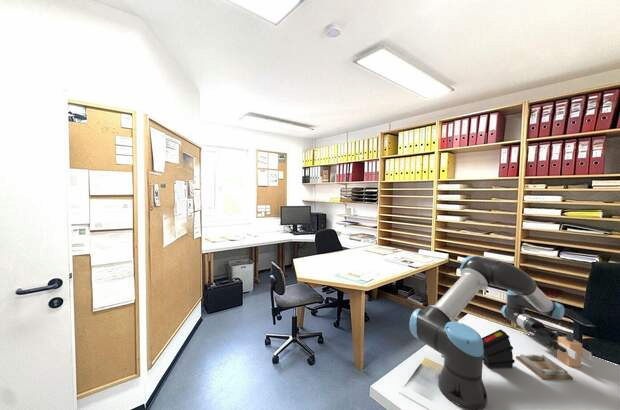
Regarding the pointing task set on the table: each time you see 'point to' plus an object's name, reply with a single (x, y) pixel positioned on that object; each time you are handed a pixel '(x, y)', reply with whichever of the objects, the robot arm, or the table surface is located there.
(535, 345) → the table surface
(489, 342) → the magazine
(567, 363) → the orange bottle
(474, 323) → the table surface
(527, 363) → the tray
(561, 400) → the table surface
